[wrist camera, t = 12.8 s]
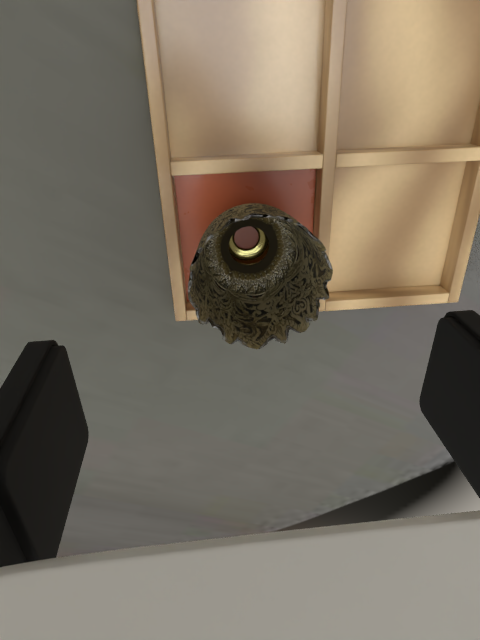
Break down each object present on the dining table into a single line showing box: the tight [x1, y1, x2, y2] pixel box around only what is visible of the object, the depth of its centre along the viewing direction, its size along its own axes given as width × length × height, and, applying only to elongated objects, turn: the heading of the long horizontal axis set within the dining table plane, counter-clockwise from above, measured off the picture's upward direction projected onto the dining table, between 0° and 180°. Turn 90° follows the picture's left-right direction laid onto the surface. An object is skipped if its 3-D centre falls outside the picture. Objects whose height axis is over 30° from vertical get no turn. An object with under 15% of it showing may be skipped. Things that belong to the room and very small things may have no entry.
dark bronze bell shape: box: [188, 203, 333, 349], centre depth 25 cm, size 8×7×8 cm
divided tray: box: [136, 0, 480, 321], centre depth 27 cm, size 20×20×2 cm
